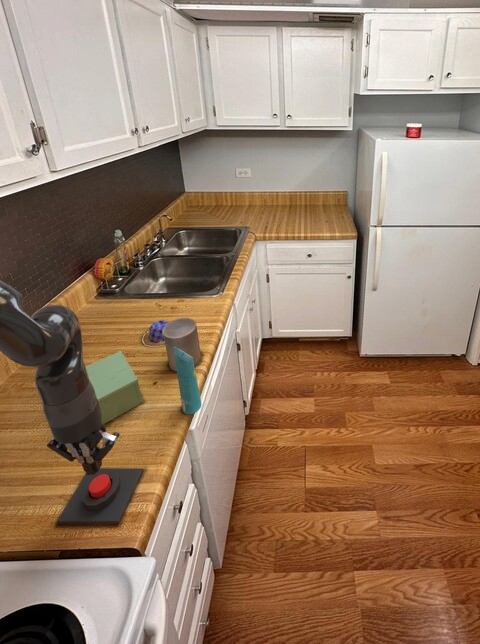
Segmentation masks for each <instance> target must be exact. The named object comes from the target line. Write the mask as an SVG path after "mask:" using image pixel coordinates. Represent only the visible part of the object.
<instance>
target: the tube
mask: <svg viewBox="0 0 480 644" xmlns="http://www.w3.org/2000/svg"><path fill="white" fill-rule="evenodd" d="M174 354H175V362H176V369H177V371H176V375H177V381H178V382H177V383H178V387H179V396H180V402H181V408H182V412H183V414H185V415H194V414H196V413H197V412H198V411H199V410H200V409H201V408H202V398H201V394H200V389H199V384H198V378H197V373H196V367H194V363H193V357H191V356H190V355H188V354H186V353H185V352H183V351H181V350H180V349H177V348H176V347H174Z"/></svg>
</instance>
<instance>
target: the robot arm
mask: <svg viewBox="0 0 480 644" xmlns="http://www.w3.org/2000/svg"><path fill="white" fill-rule="evenodd" d="M23 303H24V295H23V293H22V292H21V291H20V290H19V289H17V288H15V287H14V286H12V285H11V284H9V283H7V282H5V281H4V280H2V279H0V352H1V354H2V355H4V357H6V358H8V360H10V361H12V362H14V363H16V364H18V365H20V366H24V367H27V368H36V370H35V372H34V373H35V374H34V384H35V387H36V391H37V393H38V395H39V397H40V400H41V404H42V410H43V413H44V416H45V419H46V421H47V423H48V427H49V429H50V431H51V434H52V436H53V437H52V438H51V439H50V440H49V441H48V443H47V444H46V447H47V448H48V449H50V450H51V451H53V452H55V453H56V454H58V455H59V456H61V457H62V458H64V459H66V460H67V461H69V462H75V460H76V461H77V463H78V464H81V467H82V469H83V471H84V472H85V474H86V473H87V475H95V474H96V473H97V472H98V471H99V469H100V468H101V467H102V466H103V459H105V457H106V456H107V455H108V454H109V453H110V452H111V450H112V449H113V448H114V446H115V444H116V442H117V441H118V439H119V437H120V435H121V434H120V433H119V432H117V431H115V432H113V433H112V434H111V433H109V432H107V428H106V426H104V424H103V425H102V413H101V409H100V406H99V403H98V399H97V396H96V393H95V390H94V387H93V385H92V383H91V381H90V379H89V376H88V373H87V370H86V364H85V361H84V353H83V351H84V350H83V349H84V347H83V334H82V326H81V323H80V320H79V318H78V316H77V315H76V313H75V312H74V311H73V310H72V309H71V308H70V307H68V306H65V305H63V304H62V305H61V304H48V305H45V306H42V307H41V308H39V309H37V310H36V311H35V312H33V314H32V315H31V316H30V315H29V314H28V313H27V312H26V311H25V310H24V308H23ZM101 441H102V446H101V445H100V443H101ZM68 450H69V451H68Z"/></svg>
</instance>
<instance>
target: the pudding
mask: <svg viewBox="0 0 480 644" xmlns="http://www.w3.org/2000/svg"><path fill="white" fill-rule="evenodd" d="M168 323H169V321H167V320H165V319H160V320H157V321H154V322H153V323H152V324H151V325H150V326H149V330H148V339H149V342H151V343H156V344H158V343H161V342H165V341H164V336H163V333H162V331H163V329H164V327H165V326H166V325H167V324H168ZM145 335H146V334H144V335H143V336H142V343H143V344H144V346H147V347H149V348H151V347H152V348H156V347H159V345H157V346H153V345H152V346H151V345H147V344H146V343H145V342H144V337H145ZM162 346H164V344H163V345H160V347H162Z"/></svg>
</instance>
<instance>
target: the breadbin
mask: <svg viewBox="0 0 480 644" xmlns="http://www.w3.org/2000/svg"><path fill="white" fill-rule="evenodd" d="M98 403H99V406H100V409H101V413H102V425H103V426H104V425H105V424H106V423H108V422H111V421H112V420H114V419H116V418H118V417H119V416H121V415H123V414H125V413H127V412H128V411H130V410H131V409H133V408H135V407H137V406H139V405H141V404H143V403H144V402H143V397H142V392H141V389H140V385H139V381H138V382H136V383H134V384H132V385H130V386H128V387H126V388H124V389H122V390H120V391H118V392H116V393H114V394H112V395H111V396H109V397H107V398H105V399H103V400H101V401H99V402H98Z"/></svg>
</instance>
